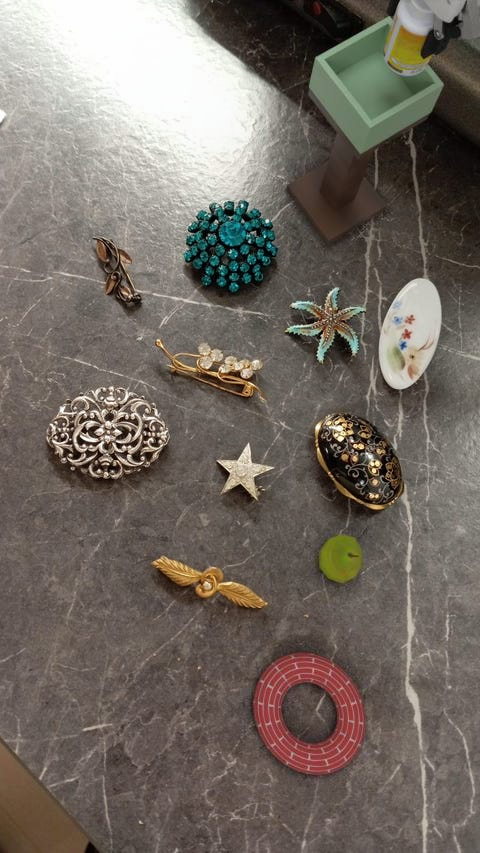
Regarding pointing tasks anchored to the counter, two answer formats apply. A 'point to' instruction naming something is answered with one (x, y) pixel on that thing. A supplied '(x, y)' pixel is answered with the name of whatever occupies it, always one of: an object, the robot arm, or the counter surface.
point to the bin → (371, 89)
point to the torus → (279, 738)
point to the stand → (339, 186)
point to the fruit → (341, 558)
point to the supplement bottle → (408, 37)
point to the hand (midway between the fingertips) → (415, 29)
